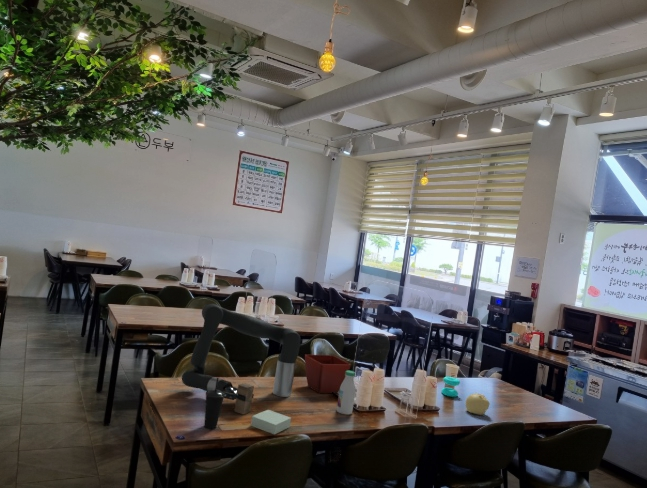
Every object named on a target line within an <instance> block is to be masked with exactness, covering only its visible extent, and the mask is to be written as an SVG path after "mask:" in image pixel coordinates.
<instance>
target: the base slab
mask: <svg viewBox="0 0 647 488" xmlns="http://www.w3.org/2000/svg"><path fill="white" fill-rule="evenodd" d="M291 421H292V417H290V416H287V415H284V414H282V413H279V412H276V411H273V410H271V409H266V410H264V411H261V412H259V413H257V414H254V415H252V416H251V420H250V422H251V423H250V426H251V427H254V428H256V429H259V430H260V431H261V430H262V431H264V432H266V433H269V434H272V435H276V434H278V433H281V432H282V431H284V430H286V429H289V428H290V427H291Z"/></svg>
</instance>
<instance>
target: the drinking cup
mask: <svg viewBox="0 0 647 488" xmlns="http://www.w3.org/2000/svg"><path fill="white" fill-rule="evenodd" d="M216 378H217V380H216V387H215V390H210V391H205V405H204V407H205V408H204V409H205V410H204V424H203V425H204V426H203V427H204V428H205V429H207V430H215V429H217V426H218V422H219V418H220V413H221V409H222V405H223V401H224V399H225V398H224V396H225V394H224V393H223V392H221V391H219V390H217V385H218V379H219V378H220V377H216Z"/></svg>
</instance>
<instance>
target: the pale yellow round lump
mask: <svg viewBox="0 0 647 488" xmlns="http://www.w3.org/2000/svg"><path fill="white" fill-rule="evenodd" d="M464 406H465V408H466V410H467V412H469V413H471V414H474V415H479V416H483V415H484V414H485V413H487V410H488V409H490V401H489V399H487V398H486V397H485V395H484V394H483V393H481V394H480V393H477V392H475V393H472V394H470V395H468V396H467V398H466V399H465V405H464Z"/></svg>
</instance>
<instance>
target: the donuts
mask: <svg viewBox="0 0 647 488" xmlns="http://www.w3.org/2000/svg"><path fill="white" fill-rule="evenodd" d="M442 381H443V383H444V384H446V385H448V386H453V387H458V386H459V385H460V384H461V382H460V379H458V378H457V377H453V376H452V377H451V376H445V377H443V379H442ZM441 394H442V395H444V396H447V397H451V398H455V397H457V396H459V392H458V390H457V389H454V388H452V387H443V388H441Z"/></svg>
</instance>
